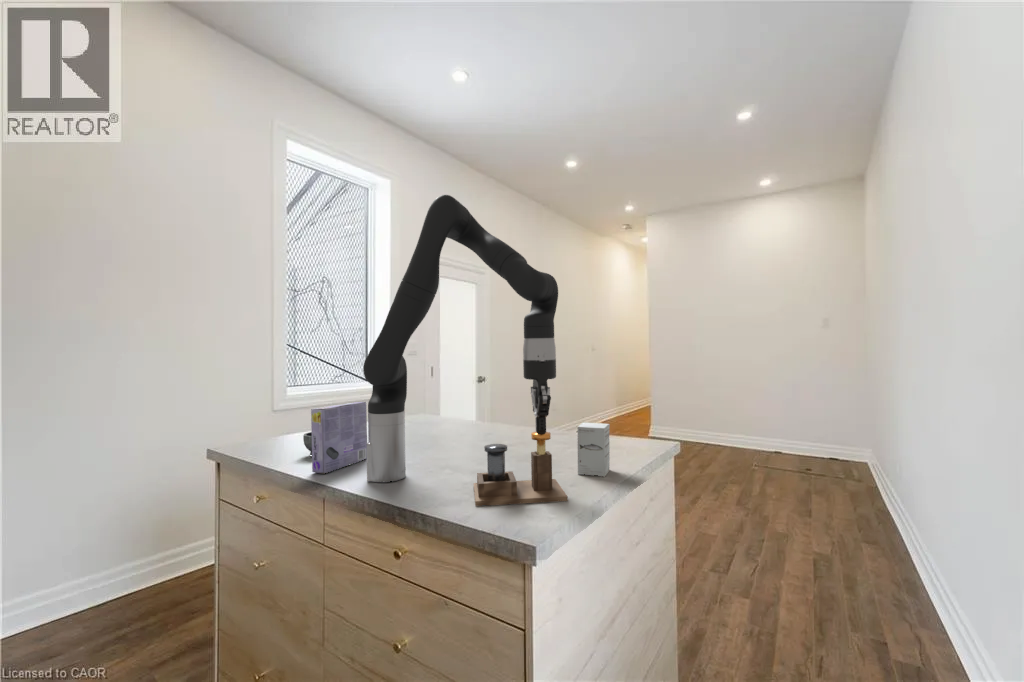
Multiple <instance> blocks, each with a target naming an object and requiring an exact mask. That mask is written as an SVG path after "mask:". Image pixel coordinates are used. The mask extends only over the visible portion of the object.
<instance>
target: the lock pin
mask: <svg viewBox="0 0 1024 682" xmlns="http://www.w3.org/2000/svg"><path fill="white" fill-rule="evenodd" d="M530 437H531V438H530V439H531V440H533V441H536V451H537V455H546V450H547V449H546V441H549V440H551V438H552V437H551V432H550V431H546V433H545V434H538V433H537V432H536V431H533V432H531V436H530Z"/></svg>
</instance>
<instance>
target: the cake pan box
mask: <svg viewBox="0 0 1024 682" xmlns="http://www.w3.org/2000/svg"><path fill="white" fill-rule="evenodd" d="M310 414H311V415H310V416H311V419H310V421H311V423H310V424H311V425H310V426H311V432H312V457H311V468H312V469H311V470H312V471H311V472H312V473H315V474H316V473H317V474H321V475H326V474H328V472H329V473H331V472H330V471H332V472H334V471H337V470H339V469H338V468H340V469H342V468H341V467H344V466H347V465H349V464H352V463H354V464H356V462H357V463H359V462H358V461H360V462H362V461H361V460H363V461H365V460H364V459H366V460H367V443H368V411H367V402H366V401H360V402H359V401H355V402H351V403H350V402H349V403H343V404H336V405H334V404H333V405H329V406H322V407H316V408H311V410H310ZM352 465H353V464H352ZM347 467H348V466H347ZM344 468H345V467H344ZM336 469H337V470H336ZM333 470H334V471H333ZM325 473H326V474H325Z"/></svg>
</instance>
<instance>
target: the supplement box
mask: <svg viewBox="0 0 1024 682" xmlns="http://www.w3.org/2000/svg"><path fill="white" fill-rule="evenodd" d="M610 448H611V447H610V423H600V422H581V423H580V424H579V425H577V475H584V474H585V475H586V476H594V475H598V476H597V477H602V476H605V475H606V476H607V474H608V473H609V471H610V459H611V457H610V453H611V452H610ZM608 470H609V471H608ZM607 472H608V473H607ZM585 475H584V476H585ZM606 476H605V477H606Z"/></svg>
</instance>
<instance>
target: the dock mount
mask: <svg viewBox="0 0 1024 682" xmlns="http://www.w3.org/2000/svg"><path fill="white" fill-rule="evenodd" d="M530 459H531V460H530V461H531V463H530V464H531V465H530V466H531V469H530V470H531V471H530V473H531V479H529V480H517V479H516V476H515V474H514V471H510V470H509V471H505V481H491V482H488V472H477V473H476V481H477V482H473V495H474V505H475V507H483V506H482V505H486V506H502V505H517V504H519V505H521V504H535V503H555V502H568V501H569V499H568V494H567V493H566V492H565V491H564V489H563V488H562V486H561V485H560V484H559V482H558V481H557V479H556V478H553V455H552V453H551V452H550V451H546V455H537V450H536V451H531V452H530Z"/></svg>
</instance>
